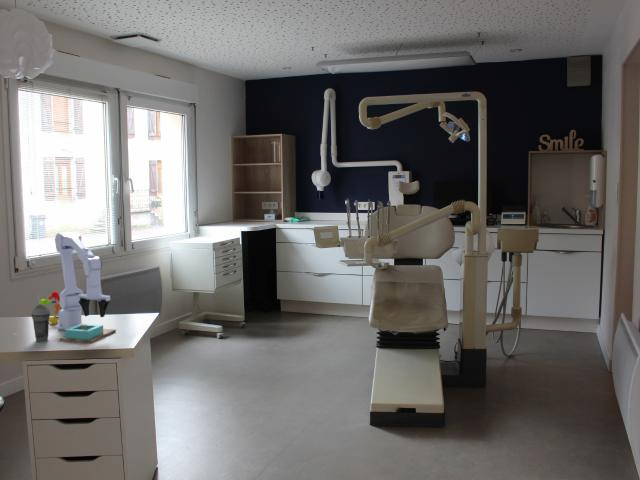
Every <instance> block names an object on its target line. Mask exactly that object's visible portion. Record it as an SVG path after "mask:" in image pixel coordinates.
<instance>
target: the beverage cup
mask: <svg viewBox="0 0 640 480" xmlns="http://www.w3.org/2000/svg"><path fill="white" fill-rule="evenodd" d="M37 301H38V303H37V305H35V306H34V307H33V309H32V311H31V314H30V315H31V318H32V322H33V323H32V325H33V329H34V330H33V331H34V336H35V338H34V339H35V341H36V343H45V342H47V341H49V326H50V325H49V324H50V321H49V317H51V316H50V315H51V312H50V309H49V307H47V306H46V305H40V294H39V293H38V294H37Z"/></svg>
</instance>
